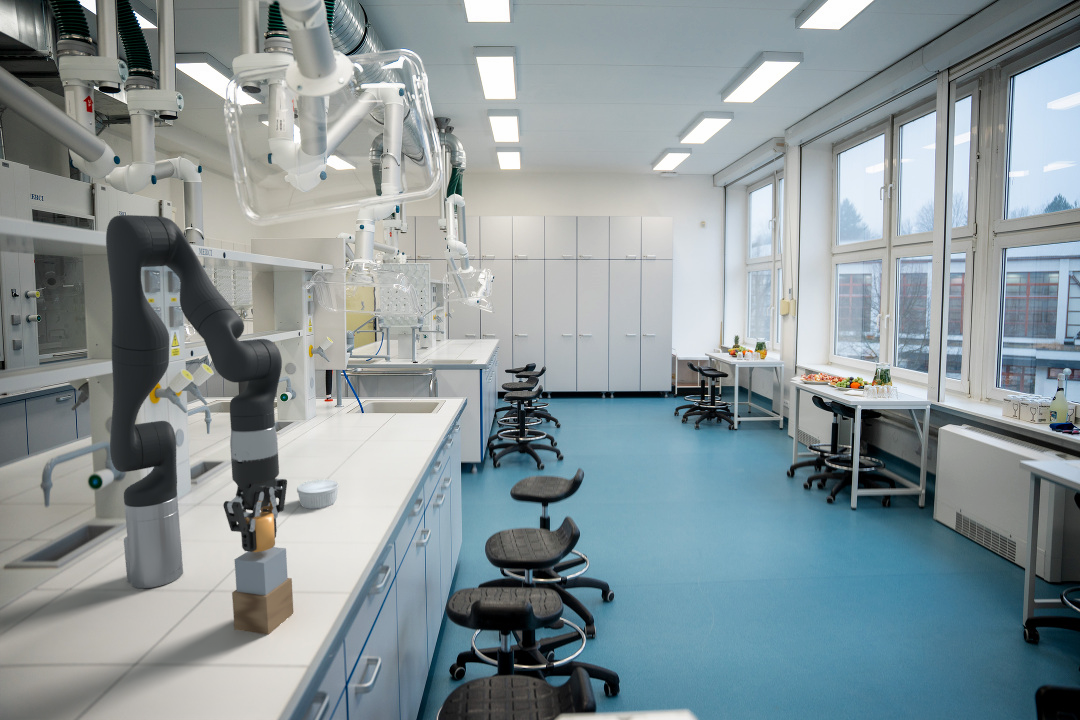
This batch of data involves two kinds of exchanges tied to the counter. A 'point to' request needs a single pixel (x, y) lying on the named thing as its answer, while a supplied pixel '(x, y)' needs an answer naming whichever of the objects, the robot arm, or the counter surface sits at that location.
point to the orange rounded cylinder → (264, 531)
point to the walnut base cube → (263, 609)
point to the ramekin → (318, 493)
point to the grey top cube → (261, 571)
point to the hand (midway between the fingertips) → (260, 544)
